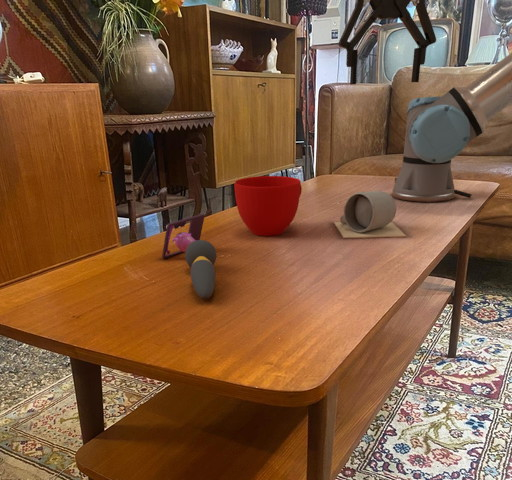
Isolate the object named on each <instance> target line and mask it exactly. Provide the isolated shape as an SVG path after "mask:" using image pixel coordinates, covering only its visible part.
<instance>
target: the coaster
mask: <svg viewBox="0 0 512 480" xmlns="http://www.w3.org/2000/svg"><path fill="white" fill-rule="evenodd" d="M333 224H334V225H335V227H336V229H337V230H338V232H339V234H340V236H342V238H343V239H372V238H373V239H375V238H378V239H379V238H406V237H407V235H406V234H405V233H404V231H402V230H401V229H400V228H399V227H398V226H396V224H395V223H393V221H391V222H390V223H389V224H388V225H386V226H384V227H381V228H377V229H374V230H370V231H366V232H362V233H358V232H355V231H353V230H351V229H350V228H349V227H348V225H347V224H342V223H341V221H334V222H333Z"/></svg>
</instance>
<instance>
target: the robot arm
mask: <svg viewBox="0 0 512 480" xmlns="http://www.w3.org/2000/svg"><path fill="white" fill-rule="evenodd" d="M410 3H412V6H414V7H415V11H416V14H417V17H418V19H419V23H420V26H421V29H422V31H421V30H420V28H419V26H418V25H417V24H416V22H415V20H414V19H413V17H412V15H411V13H410V11H409V10H408V8H407V7H409V5H410ZM367 4H369V5H370V7H371V9H372V11H371V12H370V13H369V15H368V17H367V18H366V20H365V21H364V22H363V23H362V25H361V26H360V27H359V29H358V30H357V31H356V33H355V34H354V36H353V37H352V38H351V39H350V37H351V34H352V32H353V30H354V28H355V25H356V24H357V22H358V20H359V17H360V15H361V13H362V10H363V8H365V7H366V6H367ZM377 19H379V20H380V21H384V20H393V21H394V20H397V19H399V20H400V21H401V22H402V24H403V25H404V27H405V28H406V30H407V31H408V33H409V34H410V36H411V38H412V39H413V41H414V42H415V43H416V45H417V47H415V48H414V50H413V57H412V58H413V61H412V70H411V81H410V82H411V83H419V81H420V73H421V66H422V65H424V64H425V62H426V56H427V48H428V46H430V45H433V44H435V43H436V42H437V37H436V34H435V30H434V27H433V24H432V21H431V17H430V15H429V12H428V9H427V5H426V0H355V3H354V7H353V11H351V14H350V17H349V19H348V20H347V23H346V26H345V28H344V30H343V32H342V35H341V36H340V39H339V40H338V45H337V46H339V47H340V48H343V49H345V50H346V59H345V61H346V62H345V64H346V67H347V68H350V76H349V79H350V80H349V84H350V85H357V75H358V54H359V53H358V52H359V50H358V49H355V47H356V46H357V45H358V43H359V42H360V41H361V39H362V38H363V37H364V36H365V35H366V33H367V32H368V31H369V29H370V28H371V26H372V25H373V24H374V23H375V22H376V21H377ZM422 32H423V33H422ZM349 39H350V41H349ZM511 105H512V52H510V53H509V54H508V55H507V56H505V57H504V58H502V59H501V60H499V62H497V63H496V64H495V65H493V66H492V67H490V68H489V69H488V70H486V71H485V72H484V73H483V74H481V75H480V76H478V77H476V79H474V80H473V81H472V82H471V83H469V84H468V85H466V86H463V87H462V86H453V87H452V88H450V89H449V90H448V91H447V92H445V93H444V94H443V95H441V96H424V97H423V96H422V97H417V98H413V99H412V100H410V101H409V103H408V107H407V111H406V125H405V136H404V145H403V157H402V165H401V167H400V170H399V173H398V175H397V177H394V184H393V188H392V192H391V193H392V195H391V196H392V197H393V198H395V199H398V200H403V201H409V202H419V203H436V202H445V201H449V200H453V199H454V198H455V195H459V196H462V197H465V198H468V199H471V197H472V194H471V193H469V192H466V191H465V192H464V191H462V190H459V189H456V188H455V183H454V179H453V172H452V160H453V159H455V158H456V157H457V156H459V155H460V154H461V153H462V152H463V150H464V149H465V148H466V147H467V145H468V144H469V143H471V142H473V140H475V139H477V138H478V137H479V136H481V135H482V134H483V133H484V132H485V129H486V125H487V123H488V121H490V120H492V118H494V117H496V116H497V115H498V114H499V113H501V112H503V111H504V110H506V109H507V108H508V107H510V106H511Z"/></svg>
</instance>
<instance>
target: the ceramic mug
mask: <svg viewBox="0 0 512 480" xmlns="http://www.w3.org/2000/svg"><path fill="white" fill-rule="evenodd" d="M396 203H397V202H396V201H395V199H394V197H393V196H392V195H391V193H389V192H387V191H383V190H370V191H357V192H354V193H352V194H351V195H350V196H349V197H348V198H347V199H346V201H345V203H344V207H343V214H342V215H340V222H341V223H342V224H347V225H348V227H349V228H350V229H351V230H353V231H355V232H358V233H362V232H366V231H370V230H374V229H377V228H381V227H384V226H386V225H388V224H389V223H390V222H393V220H394V219H395V216H396V214H397V204H396Z"/></svg>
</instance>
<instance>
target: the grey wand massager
mask: <svg viewBox="0 0 512 480" xmlns="http://www.w3.org/2000/svg"><path fill="white" fill-rule="evenodd" d="M184 258H185V262H186V264H187V265H188V267H189V268H190V280H191V283H192V286H193V289H194V291H195V293H196V295H197V296H198V297H199V298H201V299H202V300H207V299H210V297H211V296H212V295H213V293H214V291H215V287H216V269H215V267H214V266H215V264H216V261H217V251H216V248H215V246H214V245H213V244H212V243H211V242H209V241H208V240H204V239H200V240H196V241H194V242H192V243H190V244H189V245H188V247H187V249H186V252H184Z"/></svg>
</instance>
